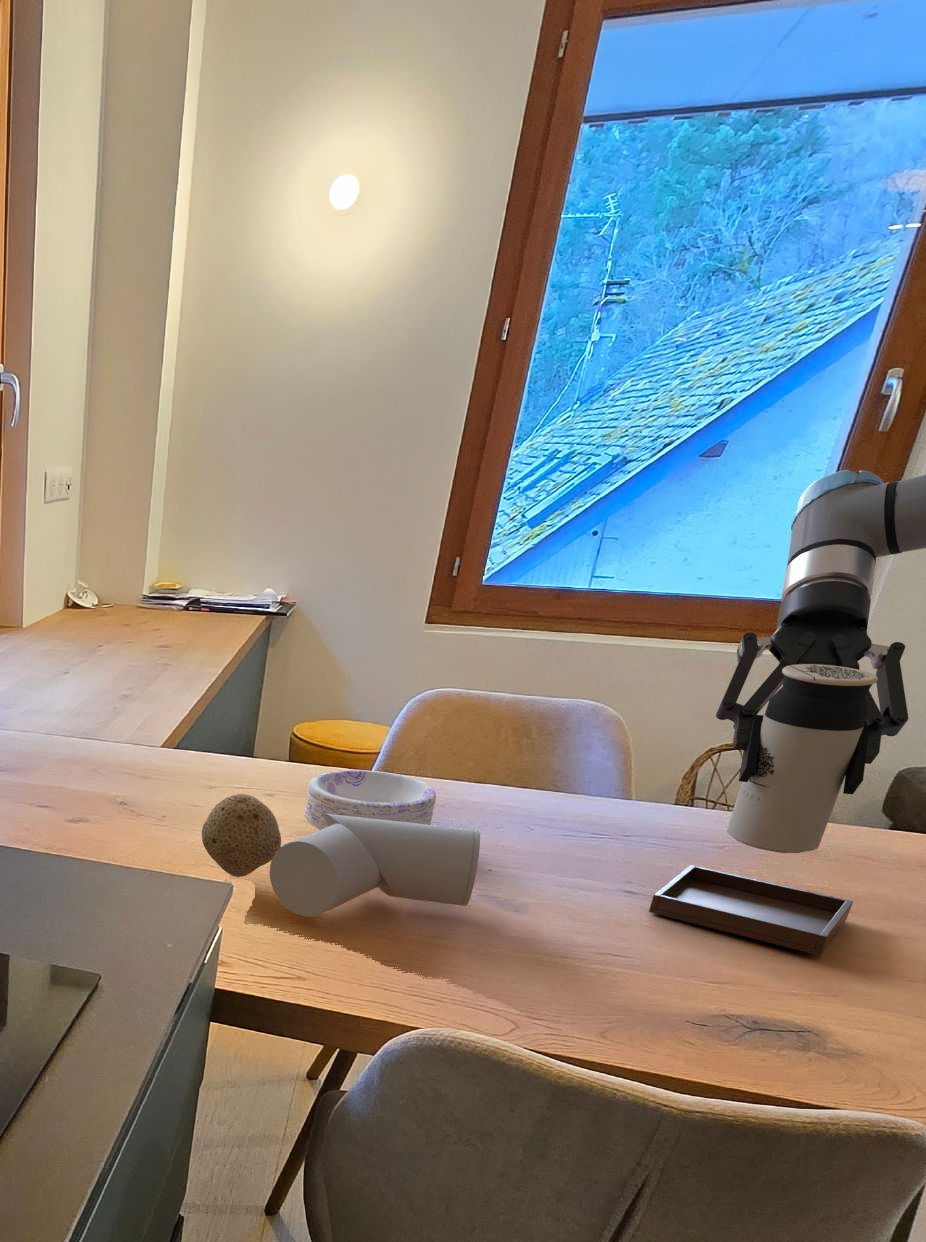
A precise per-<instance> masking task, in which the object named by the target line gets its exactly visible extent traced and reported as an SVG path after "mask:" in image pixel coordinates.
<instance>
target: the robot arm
mask: <svg viewBox="0 0 926 1242" xmlns="http://www.w3.org/2000/svg"><path fill="white" fill-rule="evenodd" d="M790 530H791V532H790V534H791V535H790V542H789V550H788V558H787V564H786V570H785V574H784V580H783V581H784V582H783V588H782V593H781V597H780V601H781V602H780V604H779V609H778V616H777V623H776V629H775V632H773V634H772V635H771V636H760V637H758V636H757V634H756V633H755V632H746V633H744V635H743V636H742V637H741V640H740V642H739V645H738V647H737V649H736V657H737V665H736V667H735V670H734V672H733V674H732V676H731V679H730V681H729V683H728V686H727V688H726V690H725V693H724V695H723V697H722V700H721V701H720V704H719V706H718V709H717V711H716V713H715V717H716V719H718V720H720V721H725V720H728V721H730V722H732V723H734V724H733V725H732V726H733V727H732V728H733V730H734V733H733V738H732V744H731V746H732V748H733V750H737V751H742V758H741V764H740V769H739V776H738V782H748V780H749V778H750V777H751V775H752V773H753V771H754V770H755V766H756V760H757V754H758V747H759V741H760V735H761V725H762V721H763V718H764V715H765V714H764V715H763V714H759V713H760V712H761V710H763V708H764V707H765V706H766V705H767V704H768V703H769V700H770V698H771V697H772V696H773V695H774V694H775V693H776V692H778V691H779V690H780V689H781V688H782V687H783V680H784V674H783V673H782V670H783V668H784V667H786V666H790V665H797V664H818V665H831V666H840V667H847V668H853V669H858V670H860V664H859V661H860V660H861V659H863V658H864V657H867V658H868V659H869V660H870V665H871V668H872V669H875V670H876V671H875V675H876V676H877V678H878V680H877V682H876V691H877V698H878V705H879V706H878V705H877V703H876V701H875V699H874V697H873V695H872V693H871V691H870V690H869V691H868V693H867V694H866V700H867V704H868V707H869V713H868V716H867V719H866V721H865V724H864V727H863V729H862V732H861V735H860V737H859V740H858V743H857V746H856V748H855V751H854V754H853V756H852V759H851V762H850V764H849V767H848V770H847V772H846V775H845V778H844V782H843V783H844V785H843V791H842V794H844V795H854V793H855V792H856V791H857V789H858V788H859V787H860V786H861V784H862V783H863V781H864V777H865V768H866V765H867V764H868V765H872V764H873V762H874V760H876V758H877V756H878V755H879V754H880V751H881V742H882V736H886V737H887V736H888V737H896V736H897V735H898V734H899V733H900V731H901V730H902V728H904V726H905V725H906V723H907V722H908V721H909V712H908V711H909V710H908V706H907V699H906V698H907V697H906V691H905V685H904V679H903V673H902V672H903V671H902V666H901V660H902V657H903V655H904V652H905V649H906V645H905V644H904V642H901V641H894V642H892V643H891V644H890V645H889V646H888V645H882V644H877V643H873V641H872V639H871V638H870V637H869V635H868V627H869V619H870V611H871V603H872V598H871V597H872V594H873V588H874V578H875V568H876V563H877V558H880V557H887V556H891V555H899V554H902V553H906V552H911V551H916V550H923V549H926V474H924V475H920V476H916V477H911V478H907V479H903V480H895V481H891V482H890V481H889V482H884V481H883V479H882V478H881V477H879V475H877V474H876V473H874V472H872V471H870V470H869V471H868V470H859V471H851V470H850V469H845V470H840V471H839V470H838V471H835V472H832V473H829V474H827V475H825V476H822V477H820V478H818V479H816V480H815V481H814V482H812V483H811V484H810V485H808V487H806V488H805V490H804V491H803V492H802V494H801V495H800V497H799V499H798V504H797V506H796V511H795V514H794V517H793V519H792V523H791V526H790ZM767 650H768V651H769V652H770V653H771V655H772V656H773V657H774V658H775V659H776V661H778V663H779V664H778V665H777V666H776V667H775V668H774V670H773V671H772V672H771V673H770V674H769V675H768V677H767V678H766V679H765V680H764V681H763V683H761V685H760V686H759V687H758V688H757V690H756V691H754V693H753V694H752V696H750V697H749V699H748V700H747V701H746V702H745V704H741V703H738V702H737V701H738V699H739V697H740V695H741V692H742V690H743V688H744V685H745V683H746V681H747V679H748V676H749V674H750V671H751V669H752V667H753V665H754V662H755V660H757V659H760V658H761V657H762V656H763V653H764V652H765V651H767Z"/></svg>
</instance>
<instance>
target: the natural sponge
mask: <svg viewBox="0 0 926 1242" xmlns="http://www.w3.org/2000/svg"><path fill="white" fill-rule="evenodd" d="M201 841H202V845H203V847H204V849H205V851H206V852H207V854H208V855H209V857H210V858H211V859H212V860H213V861H214V862H215V863H216V864H217V865H218V866H219V867H220V868H221V869H222V870H223V871H224V872H226V873H227V874H228V875H230V876H232V877H235V878H240V877H245V876H248V875H250V874H251V873H253V872H255V871H256V870H257V869H259V868H260V867H262V866H264V865H266V864H268V863H271V861H272V859H273V856H274V855H275V853H276V852H277V851H278V849H280V848H281V847H282V835H281V832H280V829H279V824H278V821H277V819H276V816H275V814H274V813H273V812H272V810H271V808H269V807H268V806H267V805H266V804H265V803H263V802H262V801H261V800H259V799H258V798H257V797H255V796H252V795H250V794H245V793H244V794H243V793H237V794H233V795H230V796H227V797H225V798H224V799H222V800H221V801H220V802H218V803H217V804H216V805H215V806H214V807H213V808H212V810H211V811H210V812H209V814H208V816H207V818H206V820H205V822H204V823H203V825H202V829H201Z"/></svg>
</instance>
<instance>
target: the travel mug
mask: <svg viewBox="0 0 926 1242" xmlns="http://www.w3.org/2000/svg"><path fill="white" fill-rule="evenodd" d="M782 673H783V674H784V680H783V685H782V686H781V687H780V688H779V689H778V690H777V692H776V693H775V694H774V695H773V696H772V697H771V698H770V700H769V701H768V702H767V706H766V709H765V713H764V716H763V721H762V725H761V735H760V741H759V747H758V754H757V760H756V766H755V770H754V771H753V773H752V775H751V777H750V778H749V780H748V782H742V783H741V784H740V785H741V786H740V789H739V791H738V794H737V797H736V801H735V803H734V807H733V810H732V813H731V816H730V819H729V822H728V824H727V828H726V833H727V834H728V835H729V836H730V837H732V838H733V839H734V840H736V841H737V842H739V843H741V844H744V845H746V846H748V847H752V848H756V849H758V850H764V851H769V852H775V853H780V854H781V853H782V854H800V853H805V852H811V851H815V850H817V849H818V848H819V847H820V845H821V842H822V839H823V836H824V834H825V831H826V829H827V826H828V823H829V820H830V818H831V815H832V813H833V810H834V807H835V805H836V802H837V799H838V796H839V793H840V791H841V788H842V785H843V783H844V781H845V775H846V772H847V770H848V767H849V764H850V762H851V759H852V756H853V754H854V751H855V748H856V746H857V743H858V740H859V737H860V735H861V732H862V729H863V727H864V724H865V721H866V719H867V716H868V713H869V707H868V704H867V700H866V694H867V693H868V691H870V689H871V687H872V686H873V685H874V684H875V683H876V682H877V680H878V678H877V676H876V674H875V673H872V672H869V671H865V670H862V669H859V670H858V669H853V668H847V667H840V666H831V665H818V664H797V665H790V666H786V667H784V668H783V670H782Z"/></svg>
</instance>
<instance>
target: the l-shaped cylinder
mask: <svg viewBox="0 0 926 1242" xmlns="http://www.w3.org/2000/svg"><path fill="white" fill-rule="evenodd" d="M324 817H325V820H326V822H327V824H328V826H329V827H326V828H324V829H321V830H319V829H318V830H316V831H314V832H311V833H309V834H306V835H304V836H302V837H299V838H297V839H295V840H293V841H292V840H291V841H290V842H287V843H285V844H283V845H281V848H280V849H278V851H277V852H276V853H275V855H274V856H273V859H272V860H271V861H270V866H269V879H270V884H271V887H272V891H273V893H274V894H275V896H276V898H277V899H278V901H279V902H280V903H281V904H282V905H283V906H284V907H285V908H286V909H288V910H289V911H290V912H292V913H294V914H296V915H299V916H302V917H310V918H311V917H313V918H314V917H318V916H321V915H323V914H326V913H327V912H329V911H331V910H333V909H335V908H337V907H339V906H342V905H343V904H345V903H347V902H349V901H351V900H354V899H356V898H357V897H359V896H362V895H364V894H366V893H368V892H370V891H372V890H374V889H375V888H378V890H380V891H381V892H382V893H384V894H386V896H388V897H393V898H401V899H409V900H415V901H416V900H417V901H423V902H431V903H439V904H445V905H446V904H447V905H454V906H455V905H456V906H462V907H467V906H468V904H469V902H470V900H471V896H472V893H473V889H474V885H475V881H476V876H477V872H478V865H479V858H480V847H481V832H480V830H479V829H472V828H463V827H455V826H454V827H453V826H443V825H435V824H431V825H426V824H417V823H407V822H398V821H389V820H379V819H370V818H360V817H351V816H342V815H332V814H324Z"/></svg>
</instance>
